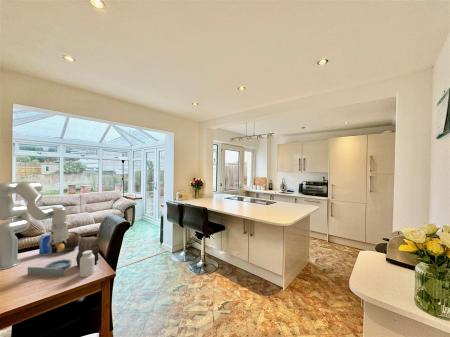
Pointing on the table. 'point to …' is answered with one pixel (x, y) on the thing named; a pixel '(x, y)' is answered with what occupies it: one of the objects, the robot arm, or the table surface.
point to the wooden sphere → (72, 241)
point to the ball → (60, 247)
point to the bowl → (60, 264)
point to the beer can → (45, 244)
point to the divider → (45, 271)
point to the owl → (88, 248)
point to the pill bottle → (87, 264)
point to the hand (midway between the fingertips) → (58, 250)
